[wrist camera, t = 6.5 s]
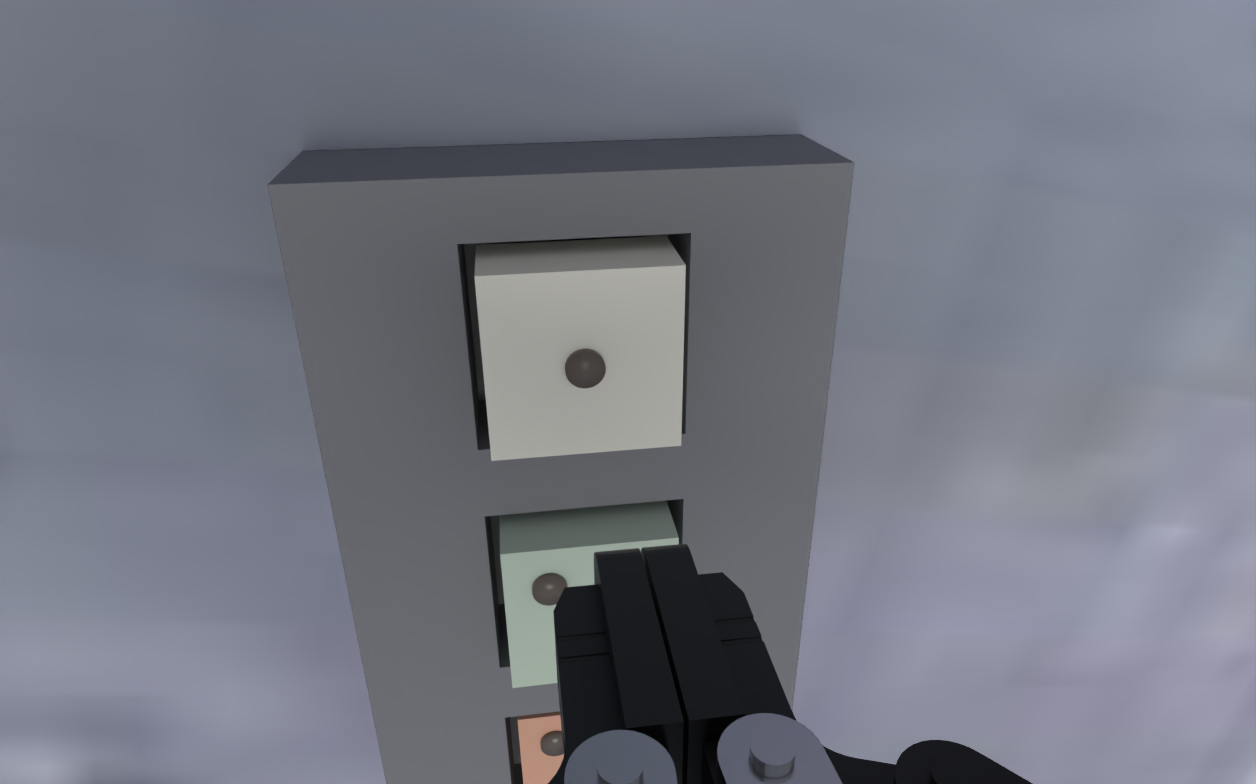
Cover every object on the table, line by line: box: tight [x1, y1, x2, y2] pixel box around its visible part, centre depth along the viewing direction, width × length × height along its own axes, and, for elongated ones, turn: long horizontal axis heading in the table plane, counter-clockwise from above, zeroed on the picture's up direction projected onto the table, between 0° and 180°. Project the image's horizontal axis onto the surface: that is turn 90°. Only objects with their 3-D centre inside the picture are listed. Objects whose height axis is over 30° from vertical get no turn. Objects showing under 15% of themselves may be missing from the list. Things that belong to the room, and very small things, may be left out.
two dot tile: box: [499, 500, 679, 688], centre depth 26 cm, size 5×5×3 cm
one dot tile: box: [474, 236, 686, 461], centre depth 22 cm, size 5×5×3 cm
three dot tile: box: [517, 711, 564, 784], centre depth 30 cm, size 5×5×3 cm
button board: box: [268, 135, 854, 784], centre depth 27 cm, size 25×14×4 cm, turn 1°
